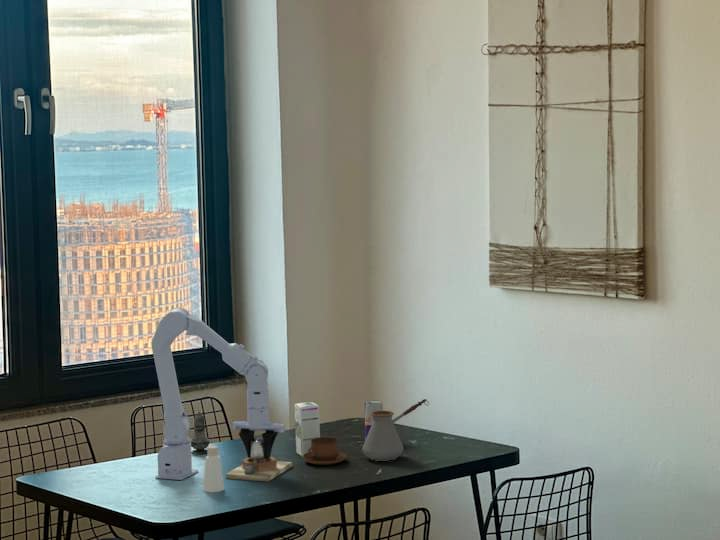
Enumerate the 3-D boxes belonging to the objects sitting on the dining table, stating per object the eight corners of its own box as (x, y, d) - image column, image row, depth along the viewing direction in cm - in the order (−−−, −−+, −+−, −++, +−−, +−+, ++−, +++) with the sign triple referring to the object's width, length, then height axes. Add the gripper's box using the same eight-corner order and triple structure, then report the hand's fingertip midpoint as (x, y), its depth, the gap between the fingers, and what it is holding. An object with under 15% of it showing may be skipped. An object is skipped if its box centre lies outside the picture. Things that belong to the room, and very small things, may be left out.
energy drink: (362, 440, 337) (362, 400, 336) (380, 439, 339) (379, 399, 338) (368, 444, 332) (367, 403, 331) (385, 442, 334) (385, 402, 333)
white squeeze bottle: (209, 493, 282) (208, 450, 281) (198, 489, 286) (197, 446, 285) (228, 490, 285) (227, 447, 284) (217, 485, 289) (216, 443, 288)
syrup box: (321, 455, 319) (320, 404, 318) (301, 457, 317) (300, 406, 316) (314, 451, 325) (313, 401, 324) (295, 453, 323) (293, 403, 322)
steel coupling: (270, 463, 303) (269, 437, 302) (261, 467, 299) (261, 441, 298) (256, 461, 305) (255, 436, 304) (247, 465, 301) (246, 439, 300)
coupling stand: (267, 481, 293) (267, 468, 292) (225, 478, 297) (225, 465, 296) (292, 466, 308) (291, 454, 307) (251, 463, 312) (251, 451, 311)
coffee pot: (377, 465, 307) (376, 411, 306) (354, 457, 316) (353, 404, 315) (440, 454, 318) (439, 401, 317) (416, 446, 328) (415, 395, 327)
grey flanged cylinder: (200, 455, 322) (198, 414, 321) (185, 453, 325) (184, 412, 324) (214, 451, 326) (213, 410, 325) (200, 449, 330) (199, 408, 329)
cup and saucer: (335, 469, 304) (334, 446, 304) (295, 465, 309) (294, 443, 309) (353, 459, 315) (353, 437, 315) (315, 455, 320) (314, 434, 320)
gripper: (289, 405, 302) (290, 455, 303) (239, 402, 307) (240, 452, 308) (278, 410, 295) (279, 462, 296) (228, 407, 300) (229, 458, 301)
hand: (259, 457), depth 302 cm, fingers closed on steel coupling, 4 cm apart
